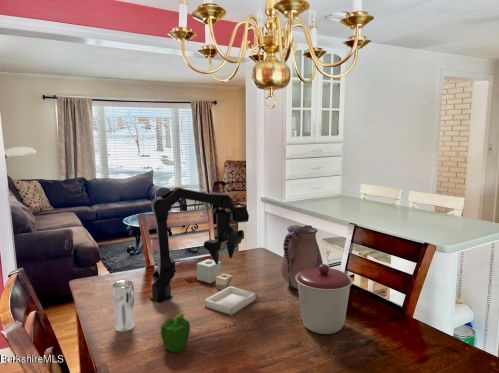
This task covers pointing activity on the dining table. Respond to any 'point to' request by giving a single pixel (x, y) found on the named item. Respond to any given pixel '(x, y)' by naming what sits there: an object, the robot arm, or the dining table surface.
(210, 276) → the sage block
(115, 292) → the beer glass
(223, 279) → the maple block
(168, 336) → the bell pepper
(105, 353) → the dining table surface
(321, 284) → the canister
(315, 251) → the ceramic pitcher
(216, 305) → the tray
